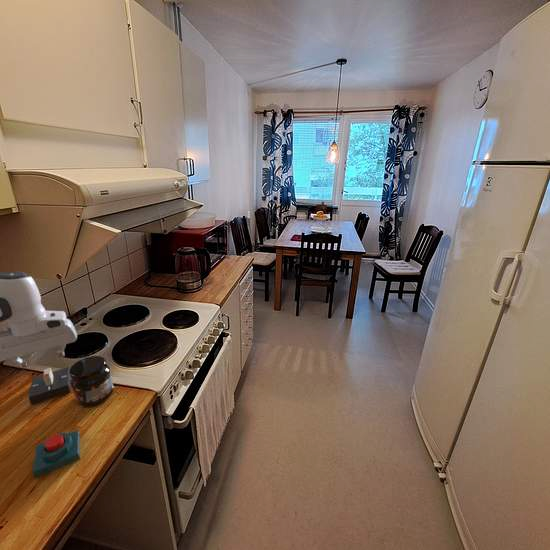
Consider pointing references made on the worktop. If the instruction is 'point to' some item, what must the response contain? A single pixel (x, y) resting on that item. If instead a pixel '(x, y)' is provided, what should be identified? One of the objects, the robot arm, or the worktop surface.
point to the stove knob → (48, 376)
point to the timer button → (54, 443)
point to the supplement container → (91, 381)
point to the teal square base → (57, 454)
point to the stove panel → (50, 386)
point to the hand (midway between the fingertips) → (43, 360)
